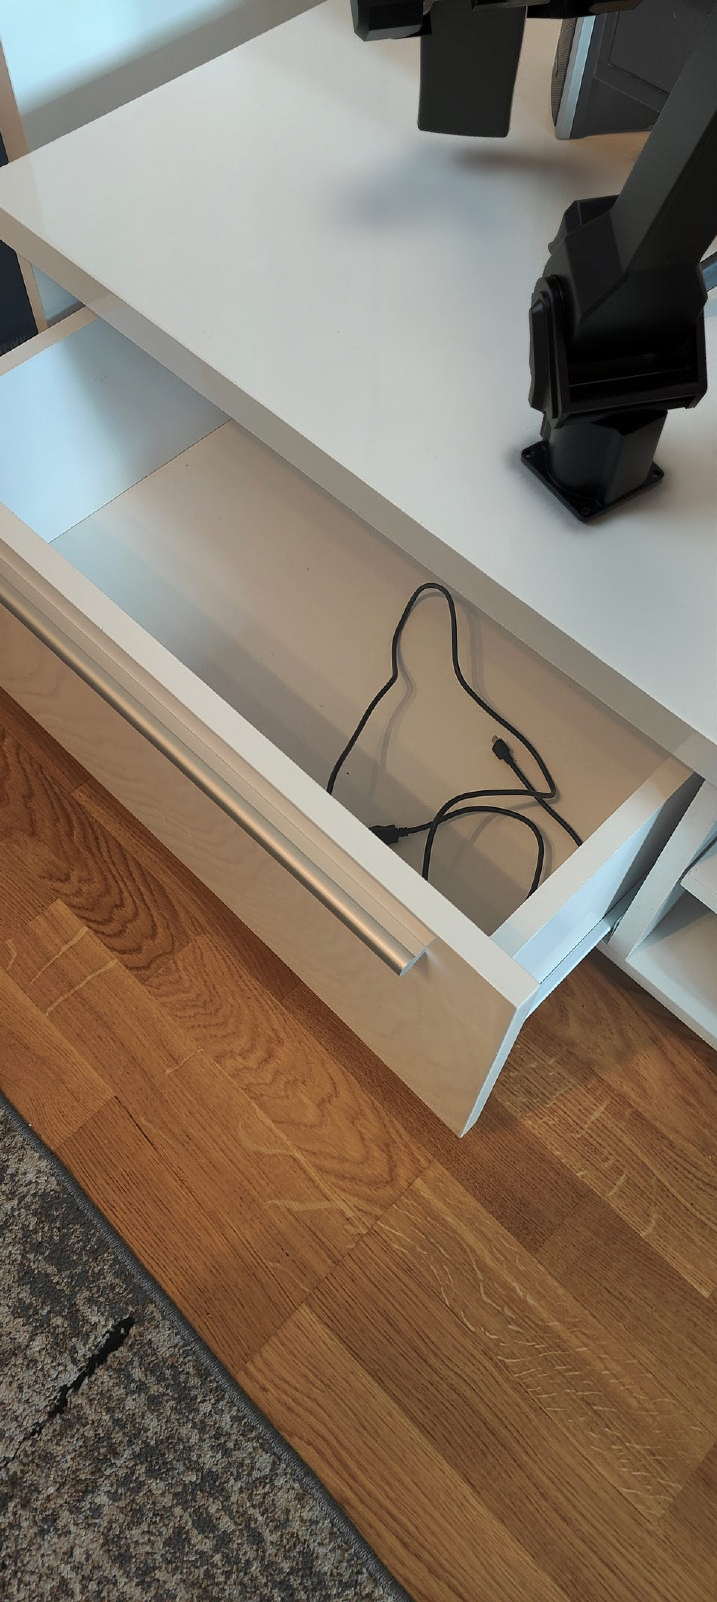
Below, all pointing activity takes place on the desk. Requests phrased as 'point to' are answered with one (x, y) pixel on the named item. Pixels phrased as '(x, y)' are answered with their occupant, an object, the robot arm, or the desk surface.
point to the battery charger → (469, 69)
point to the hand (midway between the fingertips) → (466, 14)
